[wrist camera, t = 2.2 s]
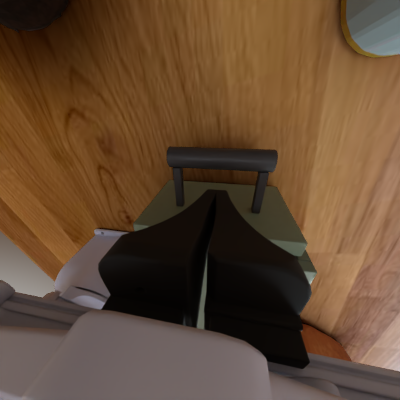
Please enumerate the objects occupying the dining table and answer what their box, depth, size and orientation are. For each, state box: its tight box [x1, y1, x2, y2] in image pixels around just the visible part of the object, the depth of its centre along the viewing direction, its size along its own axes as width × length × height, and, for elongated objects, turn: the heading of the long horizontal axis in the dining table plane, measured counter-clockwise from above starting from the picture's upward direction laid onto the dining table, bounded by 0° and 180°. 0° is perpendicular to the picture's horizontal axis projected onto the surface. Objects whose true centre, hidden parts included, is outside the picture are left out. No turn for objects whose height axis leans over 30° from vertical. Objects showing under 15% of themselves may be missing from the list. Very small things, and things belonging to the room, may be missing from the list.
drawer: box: [133, 147, 307, 256], centre depth 16 cm, size 18×11×8 cm, turn 0°
